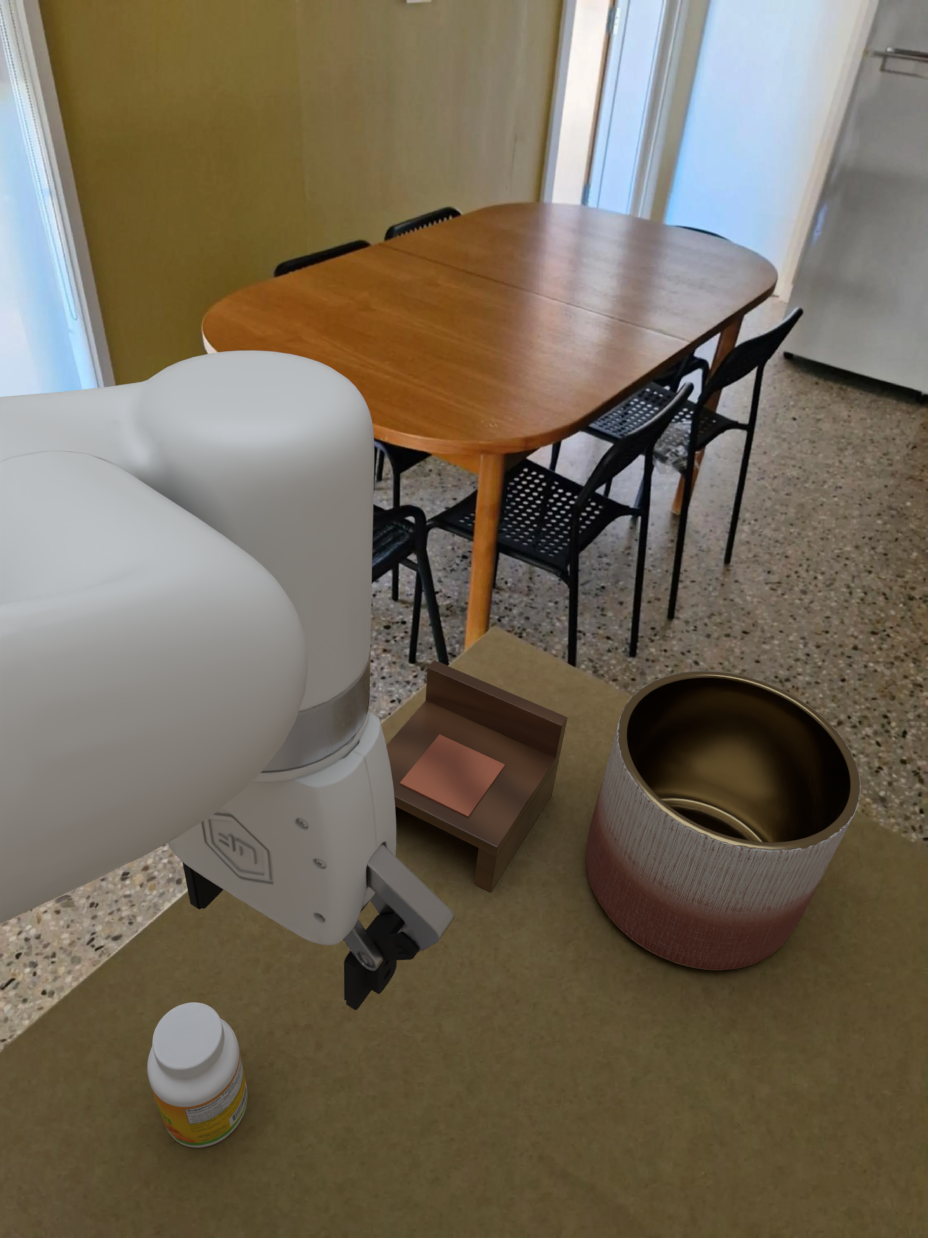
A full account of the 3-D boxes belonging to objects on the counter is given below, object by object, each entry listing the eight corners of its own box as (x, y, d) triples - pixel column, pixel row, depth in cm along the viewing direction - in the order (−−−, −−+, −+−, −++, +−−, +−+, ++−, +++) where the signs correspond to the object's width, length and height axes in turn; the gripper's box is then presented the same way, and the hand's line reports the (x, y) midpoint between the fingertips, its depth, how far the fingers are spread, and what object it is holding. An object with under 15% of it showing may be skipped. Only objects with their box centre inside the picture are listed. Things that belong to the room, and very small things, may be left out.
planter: (540, 879, 73) (566, 749, 63) (655, 764, 84) (693, 638, 74) (730, 1026, 65) (795, 902, 55) (832, 877, 75) (902, 751, 65)
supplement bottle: (154, 1085, 59) (129, 1013, 53) (235, 1050, 61) (220, 976, 55) (174, 1166, 55) (150, 1099, 49) (259, 1125, 57) (245, 1056, 51)
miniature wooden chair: (490, 893, 72) (502, 814, 66) (357, 824, 76) (356, 744, 70) (552, 794, 80) (567, 717, 74) (429, 737, 85) (434, 659, 78)
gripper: (35, 649, 35) (108, 905, 45) (405, 855, 28) (390, 1095, 39) (176, 561, 40) (212, 809, 50) (514, 719, 34) (475, 963, 44)
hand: (290, 934), depth 45 cm, fingers open, 9 cm apart
